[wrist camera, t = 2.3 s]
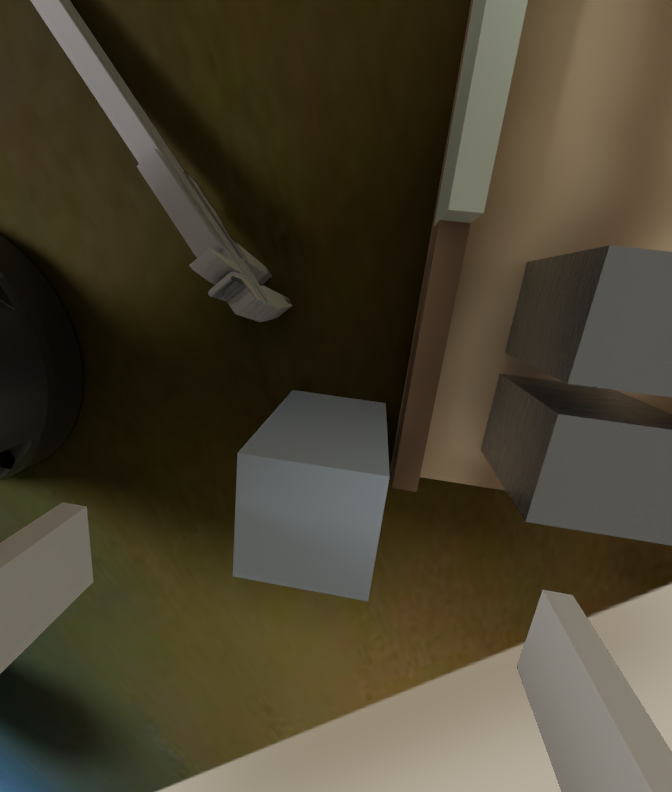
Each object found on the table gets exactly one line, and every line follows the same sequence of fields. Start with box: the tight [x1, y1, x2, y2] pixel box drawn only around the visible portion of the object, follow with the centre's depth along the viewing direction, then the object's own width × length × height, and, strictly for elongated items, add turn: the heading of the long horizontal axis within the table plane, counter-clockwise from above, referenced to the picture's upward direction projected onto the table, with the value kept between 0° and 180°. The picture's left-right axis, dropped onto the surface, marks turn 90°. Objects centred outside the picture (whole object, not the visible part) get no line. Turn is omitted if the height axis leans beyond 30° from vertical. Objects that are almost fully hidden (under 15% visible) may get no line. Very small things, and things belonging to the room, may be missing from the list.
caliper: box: [30, 0, 292, 322], centre depth 14 cm, size 20×1×6 cm, turn 36°
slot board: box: [391, 0, 672, 492], centre depth 15 cm, size 13×24×2 cm, turn 173°
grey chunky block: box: [505, 245, 672, 397], centre depth 13 cm, size 5×4×6 cm
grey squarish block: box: [481, 374, 672, 546], centre depth 15 cm, size 5×4×6 cm
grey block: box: [233, 390, 390, 601], centre depth 16 cm, size 5×5×8 cm
